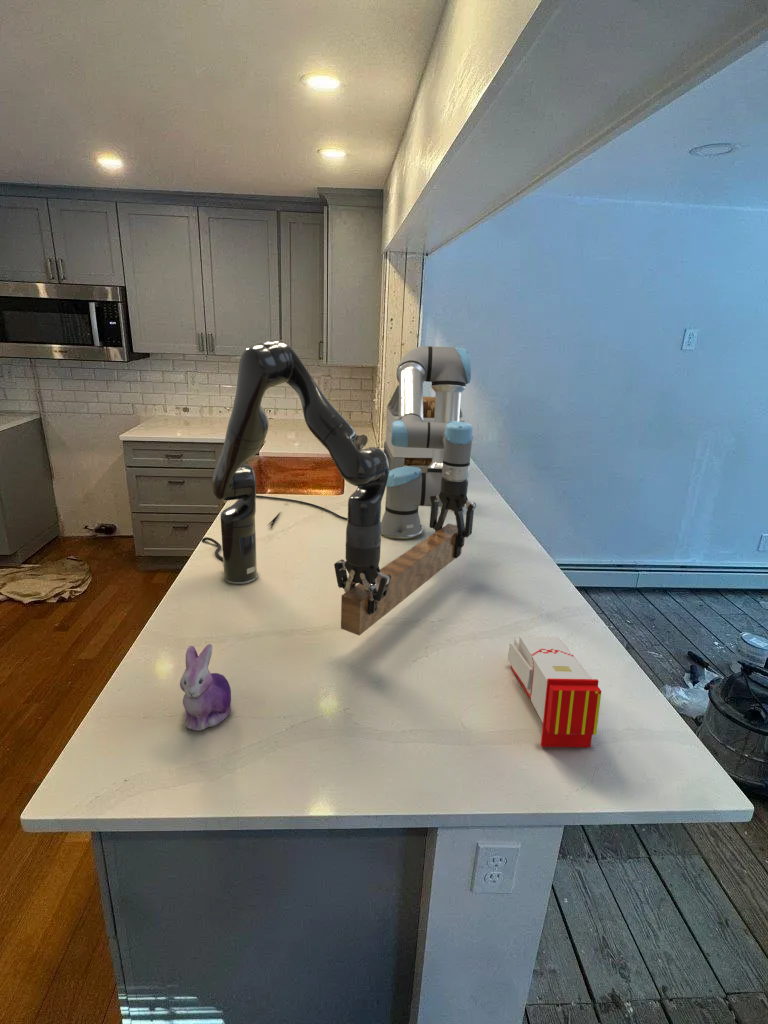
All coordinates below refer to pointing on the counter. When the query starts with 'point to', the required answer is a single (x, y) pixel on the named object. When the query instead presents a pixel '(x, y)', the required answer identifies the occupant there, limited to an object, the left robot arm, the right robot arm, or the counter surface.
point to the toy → (557, 690)
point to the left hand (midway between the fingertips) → (361, 609)
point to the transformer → (406, 455)
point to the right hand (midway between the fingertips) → (448, 553)
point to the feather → (273, 520)
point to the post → (400, 579)
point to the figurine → (204, 691)
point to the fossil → (360, 441)
